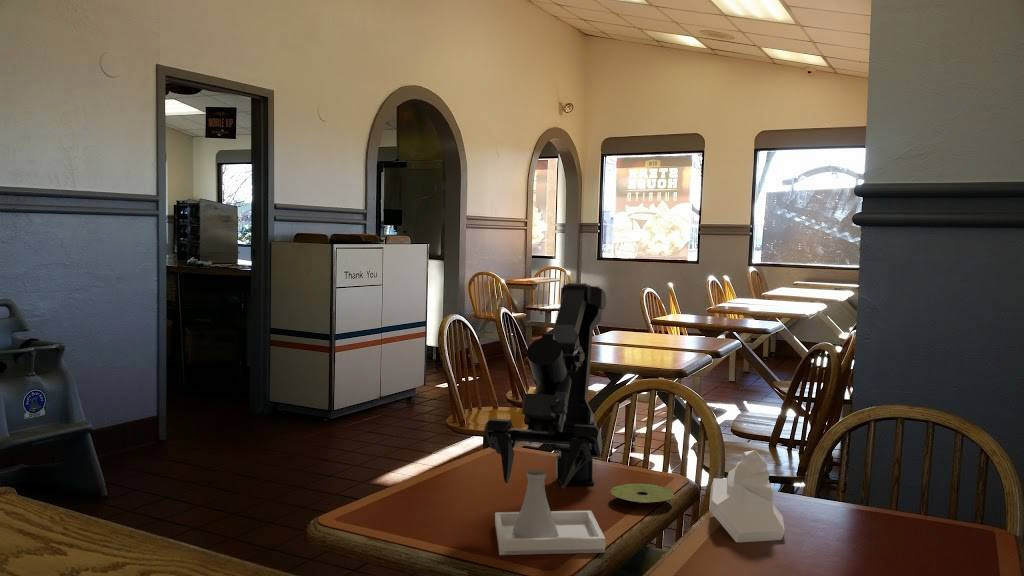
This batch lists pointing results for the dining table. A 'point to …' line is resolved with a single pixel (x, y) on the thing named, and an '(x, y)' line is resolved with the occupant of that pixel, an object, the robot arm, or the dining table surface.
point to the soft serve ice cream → (747, 502)
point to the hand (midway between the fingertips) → (533, 484)
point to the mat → (642, 493)
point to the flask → (535, 510)
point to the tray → (574, 537)
